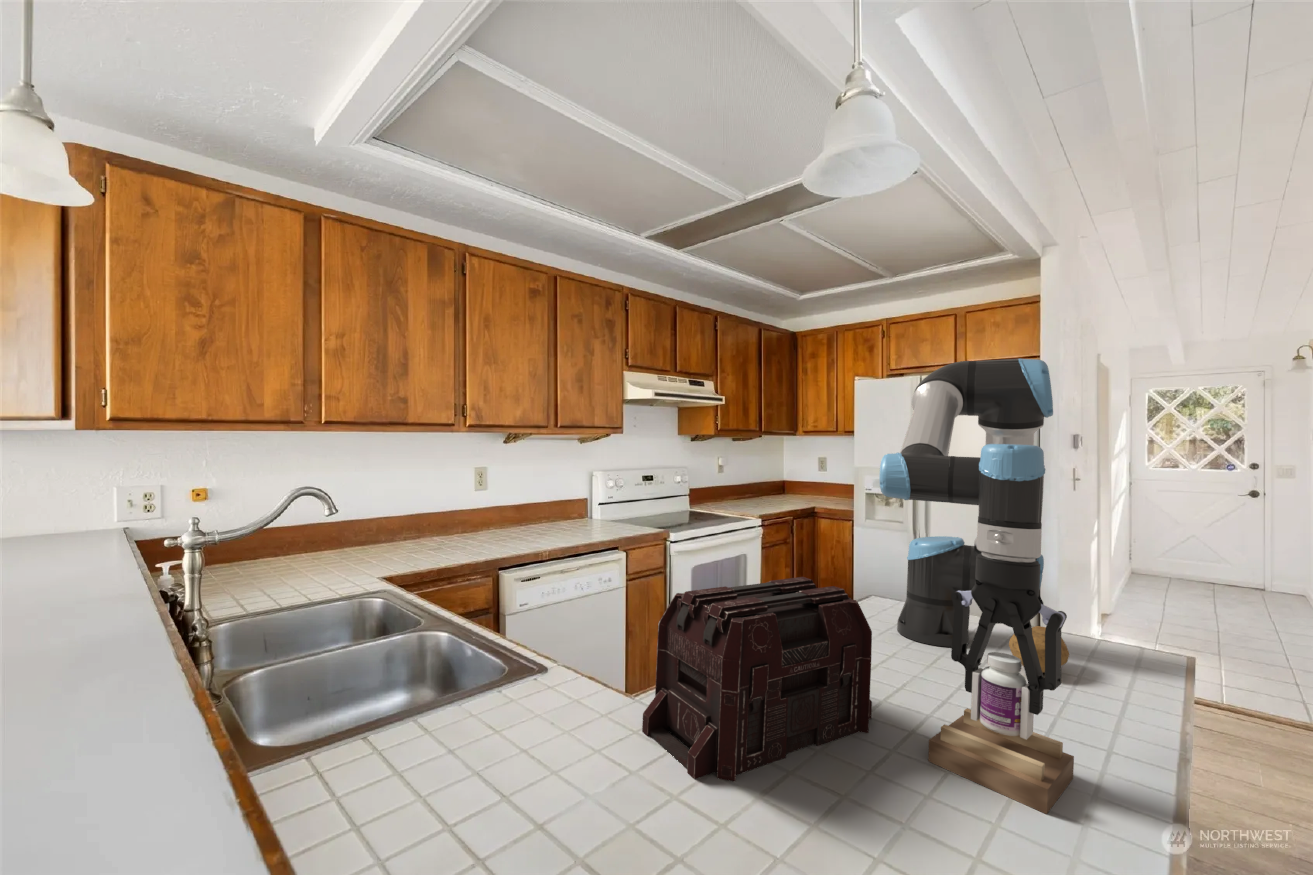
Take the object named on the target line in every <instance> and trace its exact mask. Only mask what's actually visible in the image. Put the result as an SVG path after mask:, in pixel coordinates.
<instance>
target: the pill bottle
mask: <svg viewBox="0 0 1313 875" xmlns="http://www.w3.org/2000/svg"><path fill="white" fill-rule="evenodd" d="M986 657H987V658H986V659H987V660H986V663H987V666H986V667H984V668H982V669H983V670H982V673H981V697H980V722H981V723H982V724H983V725H984V726H985V727H986V728H988V729H989V730H991V731H994V732H996V733H999V734H1003V735H1008V736H1018V735H1020V724H1021V697H1022V687H1023V686H1025V685H1026V684H1027V683H1028V682H1027V679H1026V678H1025V676H1024V675H1023V674H1022V673H1021V671H1022V669H1023V668H1022V665H1021V660H1020V659H1019V658H1017V657H1016V656H1013V655H1012V654H1011V653H1010V654H1009V653H1005V652H998V651H991V652H988V653H987V656H986Z"/></svg>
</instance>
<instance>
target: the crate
mask: <svg viewBox="0 0 1313 875" xmlns="http://www.w3.org/2000/svg"><path fill="white" fill-rule="evenodd" d="M657 625H658V627H657V643H656V644H657V645H656V665H655V666H656V667H655V688H654V689H655V692H654V698H653V699H652V700H651V702H650V703H649V705H648V706H647V707H646V708H645V710H644V711H643V712H642V725H641V726H642V727H641V728H642V729H641V732H642V733H643V734H644V735H645V736H646V737H650V738H652V739H653V740H654V741H655V742H656V743H657V744H658V745H659V746H660V747H661V748H663V749H664V751H666V750H667V751H666V752H667V753H668V754H669V753H670V754H671V755H672V756H671V755H670V754H669V755H670V756H671V757H673V756H674V757H673V759H675V760H676V761H677V760H678V761H677V762H678V763H679V764H680V763H681V764H682V765H683V766H682V765H681V764H680V765H681V766H682V767H683V768H684V769H686V770H687V772H686V773H687V774H688V775H689V776H690V777H691V778H692V779H693V780H696V779H699V778H702V777H705V776H708V775H711V774H714V773H715V774H716V778H717V779H718V778H719V780H724V781H729V780H730V782H736V780H737V776H738V775H741V774H744V773H747V772H749V771H752V770H755V769H758V768H760V767H764V766H766V765H769V764H773V763H775V762H777V761H781V760H784V759H786V758H787V755H788V754H791V753H793V752H795V751H799V750H801V749H804V748H807V747H810V746H813V745H815V747H816V746H817V747H820V746H823V745H827V744H828V743H832V742H835V741H837V740H840V739H843V738H845V737H848V736H852V735H854V734H856V733H863V734H869V730H870V729H869V728H870V726H869V725H870V720H872V713H873V712H872V711H873V708H872V707H873V701H872V700H871V680H872V679H871V678H872V677H871V676H872V649H873V648H872V644H873V643H872V640H873V631H872V628H871V626H870V624H869V622H868V620H867V617H866V616H865V613H864V612H863V610H862V608H861V605H860V604H859V602H858V600H857V599H851V597H849V594H848V593H846V590H845V589H844V588H842V587H841V588H840V587H839V586H834V585H832V586H824V587H817V586H816V583H814V580H813V579H811V578H807V577H805V576H799V577H791V578H782V579H775V580H774V579H773V580H769V581H767V582H761V583H753V584H745V585H737V586H730V587H728V586H717V587H711V588H701V589H695V590H688V591H686V590H685V591H684V592H683V593H682V592H677V593H676V594H675V595H674V596H673V598H672V600H671V601H670V603H669V604H668V606H667V608H666V610H665V611H664V613H663V615H662V616H661V618H660V619H659V621H658V624H657ZM683 742H684V743H685V744H686V746H685V744H684V743H683Z"/></svg>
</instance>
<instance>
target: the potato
mask: <svg viewBox="0 0 1313 875" xmlns="http://www.w3.org/2000/svg"><path fill="white" fill-rule="evenodd" d="M1045 629H1046V626H1040V625H1035V626H1032V635H1033V639H1034V643H1035V647H1036V651H1037V654H1038V658H1039V662H1040V666H1041V670H1042V673H1045ZM1008 647H1009V648H1010V652H1011V655H1013V656H1016V657H1017V658H1019V659H1020V660H1021V667H1024V665H1023V661H1022V657H1021V653H1020V650H1019V646H1018V642H1017V638H1016V636H1015V635H1014V633H1013V634H1012V636H1010V638H1009V642H1008ZM1069 657H1070V652H1069V649H1068V647H1067V644H1066V643H1065V641H1064V639H1063V637H1062V636H1061V667H1062V666H1064V665H1065V664H1066V663H1068V662H1069V661H1068V660H1069Z"/></svg>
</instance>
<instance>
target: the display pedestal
mask: <svg viewBox="0 0 1313 875" xmlns="http://www.w3.org/2000/svg"><path fill="white" fill-rule="evenodd" d="M1063 747H1064V742H1062V741H1060V740H1057V739H1054V738H1051V737H1049V736H1046V735H1042V734H1040V733H1037V732H1035V731H1033V734H1032V735H1031V736H1030V737H1029V738H1028V739H1027V740H1026V739H1024V738H1021V737H1020V735H1018V736H1008V735H1003V734H999V733H996V732H994V731H991V730H989V729H988V728H986V727H985V726H984V725H983V724H982V723H981V722H980V719H979V720H977V721H975V720H972V719H971V708H966V709H963V714H962V715H961V716H960V717H958V718H957V719H955V720H953V722H951V723H949V725H947V724H943V725H942V726H940V731H939V732H938V733H935V735H933V736H932V737H931V738H929V740H928V757H927V758H928V759H927V760H928V761H927V762H929V763H931V764H933V765H936V766H937V767H940V768H943V769H944V770H947V771H949V772H951V773H954V774H956V775H958V776H960V777H962V778H965V779H967V780H969V781H971V782H974V783H976V784H978V785H980V786H983V787H985V788H986V789H989V790H991V791H994V792H996V793H998V794H1000V795H1002V796H1005V797H1007V798H1010V799H1012V800H1014V801H1017V802H1018V803H1021V804H1023V805H1025V806H1027V807H1029V808H1031V809H1034V810H1036V811H1039V812H1040V813H1043V814H1045V815H1048V813H1049V812H1050V810H1051V809H1052V808H1053V807H1054V805H1055V804H1057V801H1058V799H1060V797H1061V795H1062V794H1063V793H1064V791H1065V790H1066V789H1067V788H1068V786H1069V785H1070V784H1071V782H1072V781H1073V779H1074V770H1075V769H1074V767H1075V756H1074V755H1072V754H1069V753H1066V752H1064V748H1063Z"/></svg>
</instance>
